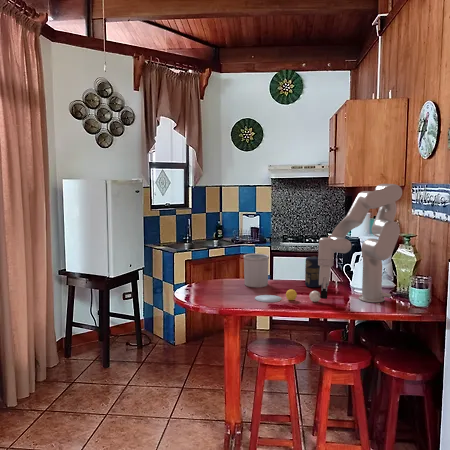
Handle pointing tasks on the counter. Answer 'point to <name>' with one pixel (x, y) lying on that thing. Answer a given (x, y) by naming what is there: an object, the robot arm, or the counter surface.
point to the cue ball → (315, 296)
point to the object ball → (291, 294)
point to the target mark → (268, 298)
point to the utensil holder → (256, 270)
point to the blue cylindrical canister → (312, 272)
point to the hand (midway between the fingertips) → (323, 298)
